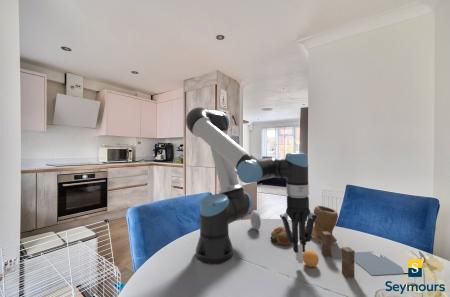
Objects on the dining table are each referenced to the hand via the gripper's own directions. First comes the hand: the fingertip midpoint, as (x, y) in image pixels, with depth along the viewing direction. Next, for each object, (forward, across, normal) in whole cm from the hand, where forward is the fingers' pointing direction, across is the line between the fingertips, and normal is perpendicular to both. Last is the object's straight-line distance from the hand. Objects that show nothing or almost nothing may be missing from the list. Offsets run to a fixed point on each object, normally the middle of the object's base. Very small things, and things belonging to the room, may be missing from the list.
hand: (299, 260), depth 72 cm
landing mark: (+3, +30, +2) cm, 30 cm away
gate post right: (+3, +15, -5) cm, 16 cm away
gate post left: (+3, +14, +8) cm, 16 cm away
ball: (0, +5, +1) cm, 5 cm away
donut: (+2, -9, +34) cm, 35 cm away
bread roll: (+3, +1, +21) cm, 21 cm away
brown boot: (+3, +20, +22) cm, 30 cm away
